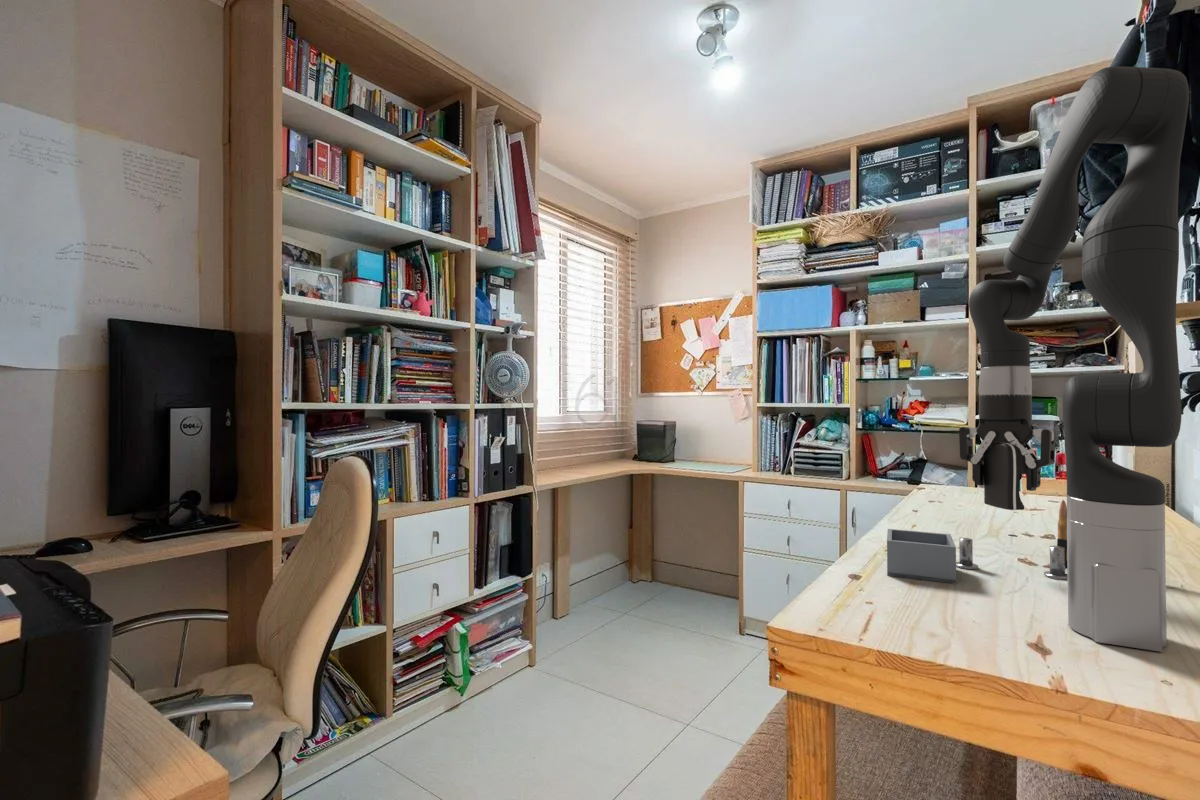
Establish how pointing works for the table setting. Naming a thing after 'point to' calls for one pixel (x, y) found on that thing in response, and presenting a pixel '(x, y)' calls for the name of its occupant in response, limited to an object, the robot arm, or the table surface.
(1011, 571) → the table surface
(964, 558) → the metal knobs
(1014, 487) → the battery charger
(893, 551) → the bin
